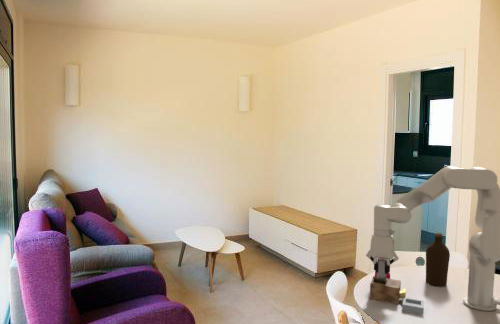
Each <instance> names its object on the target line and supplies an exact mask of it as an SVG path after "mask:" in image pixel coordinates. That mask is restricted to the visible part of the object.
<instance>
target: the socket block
mask: <svg viewBox="0 0 500 324" xmlns="http://www.w3.org/2000/svg"><path fill="white" fill-rule="evenodd" d="M369 284H370V285H369V300H374V301H379V302H385V303H389V304H390V303H391V304H397V305H399V302H400V299H401V298H399V292H400V291H401V287H402V285H401V284H402V283H401V280H400V279H393V278H390V279H388V278H386V284H381V283H377V277H375V275H374V276H373V277H372V279H371V280H370V283H369Z"/></svg>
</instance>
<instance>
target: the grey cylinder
mask: <svg viewBox="0 0 500 324" xmlns="http://www.w3.org/2000/svg"><path fill="white" fill-rule="evenodd" d="M386 265H387V260H386V259H378V258H377V283H381V284H386Z"/></svg>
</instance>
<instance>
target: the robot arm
mask: <svg viewBox="0 0 500 324" xmlns="http://www.w3.org/2000/svg"><path fill="white" fill-rule="evenodd" d="M498 181H499V180H498V176H497V174H496V173H495V172H494V171H493V170H492V169H489V168H485V167H481V166H473V167H471V168H462V167H461V168H460V167H457V166H454V165H447V166H444V167H442V168H441V169H440V170H439V171H437V172H436V173H435V174H433V175H432V176H430V178H428V179H427V180H426V181H424V182H423V183H422V184H421V185H419V186H417V187H416V188H414V189H412V190H410V191H408V192H407V193H406V194H404V195H402V196H401V197H400V198H398V199H397V200H396V201H394V203H393V204H391V205H388V204H381V203H380V204H376V205H374V207H373V233H372V234H371V238H370V239H371V240H370V247H369V250H368V251H367V252H366V254H365V256H366V257H367V258H368V259H369V260H370V261H371V262H372V263H373V270H374V271H375V273H377V259H378V258H385V259H387V265H386V274H388V272H391V265H392V264H394V262H397V261H398V260H399V259H400V258H399V256H398V255H397V253H396V251H395V238H394V235H395V234H396V231H395V230H393V228H392V227H393V226H392V225H393V224H392V223H395V224H396V223H397V224H407V223H408V222H410V221H411V218H412V212H411V211H413V210H414V209H416V208H417V207H418V206H421V205H423V204H427V203H433V202H434V201H436V200H437V199H439V198H440V197H441V196H442V195H444V194H445V193H447V192H448V191H449V190H451V189H460V190H476V193H477V204H476V209H475V210H476V211H475V217H474V222H475V224H476V226H477V227H478V228H479V229H480V230H481V231H479V232H475V233H473V235H472V236H471V237H470V238H469V241H468V248H469V249H468V250H469V267H468V270H469V271H468V285H467V296H466V297H463V299H462V302H463V304H464V305H466V306H467V307H469V308H471V309H474V310H478V311H483V312H493V311H496V310H497V307H498V306H500V298H496V297H494V286H495V275H496V274H495V273H496V262H499V261H500V185H499V184H498ZM375 273H374V274H375Z"/></svg>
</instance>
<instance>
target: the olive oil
mask: <svg viewBox="0 0 500 324" xmlns="http://www.w3.org/2000/svg"><path fill="white" fill-rule="evenodd" d="M450 254H451V253H450V250H449V248H448V246H446V245H445V243H444V242H443V233H442V232H435V234H434V241H433V242H431V243H430V244H429V245H428V246H427V247H426V249H425V283H426V284H427V285H428V286H433V287H438V288H444V287H446V286H447V283H448V276H449V275H448V273H449V267H450V266H449V265H450V264H449V263H450V257H451V256H450Z"/></svg>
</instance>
